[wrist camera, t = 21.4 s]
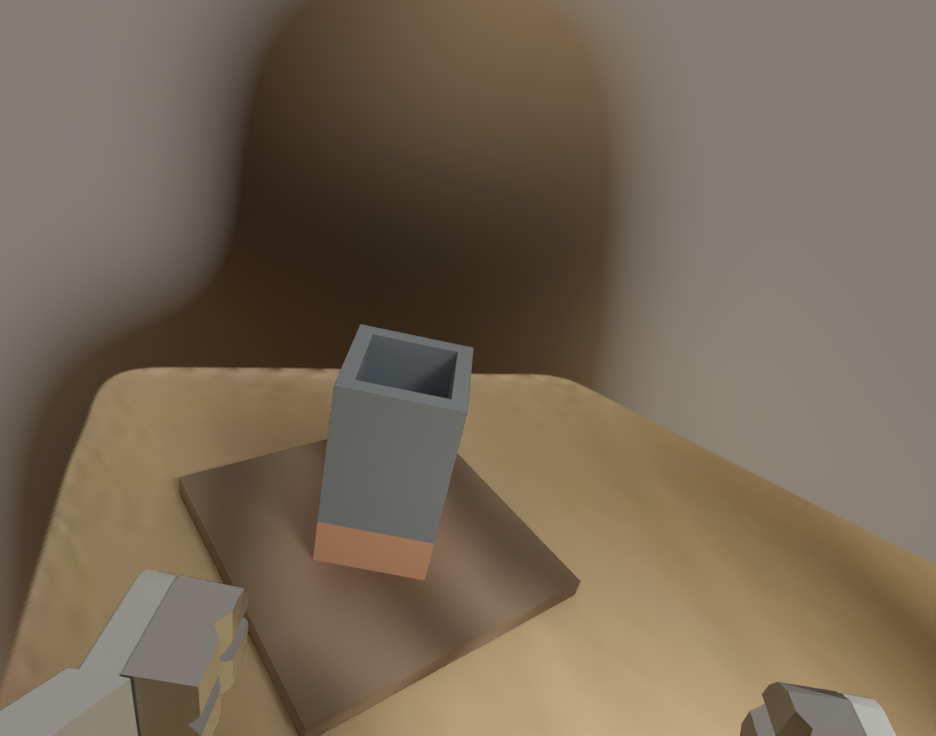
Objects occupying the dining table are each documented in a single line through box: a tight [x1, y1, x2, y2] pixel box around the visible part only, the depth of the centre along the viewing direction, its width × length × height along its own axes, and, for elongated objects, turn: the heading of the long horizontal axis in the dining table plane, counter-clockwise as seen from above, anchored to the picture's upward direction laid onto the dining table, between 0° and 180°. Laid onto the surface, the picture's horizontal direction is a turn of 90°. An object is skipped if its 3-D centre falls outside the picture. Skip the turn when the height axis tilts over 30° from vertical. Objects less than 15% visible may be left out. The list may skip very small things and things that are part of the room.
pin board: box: [179, 440, 580, 736], centre depth 32 cm, size 15×15×7 cm
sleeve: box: [313, 324, 473, 580], centre depth 31 cm, size 5×5×10 cm
